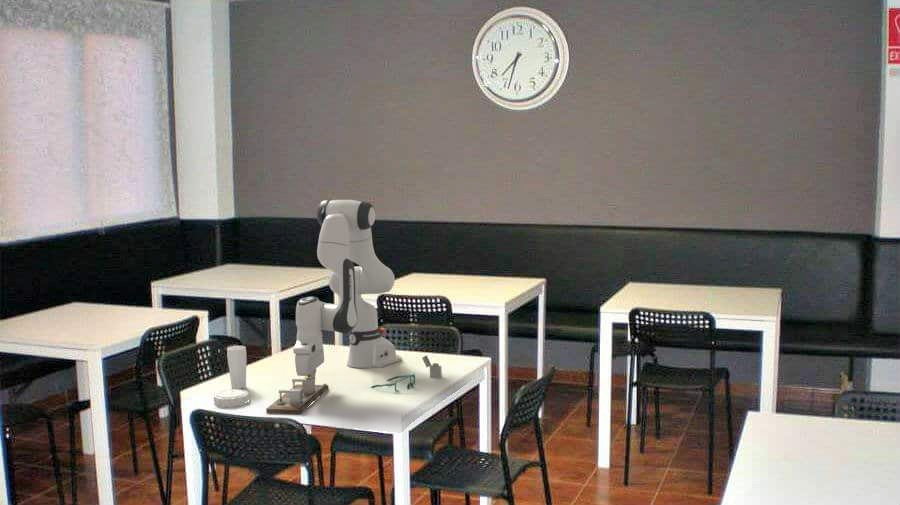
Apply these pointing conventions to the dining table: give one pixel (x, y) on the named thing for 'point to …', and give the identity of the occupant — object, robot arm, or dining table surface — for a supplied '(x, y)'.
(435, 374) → the lighter
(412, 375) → the teal eyeglasses
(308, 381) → the slider leg
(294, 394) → the fixed leg
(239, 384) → the drinking glass
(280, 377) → the dining table surface
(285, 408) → the gauge board
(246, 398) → the white round disc
